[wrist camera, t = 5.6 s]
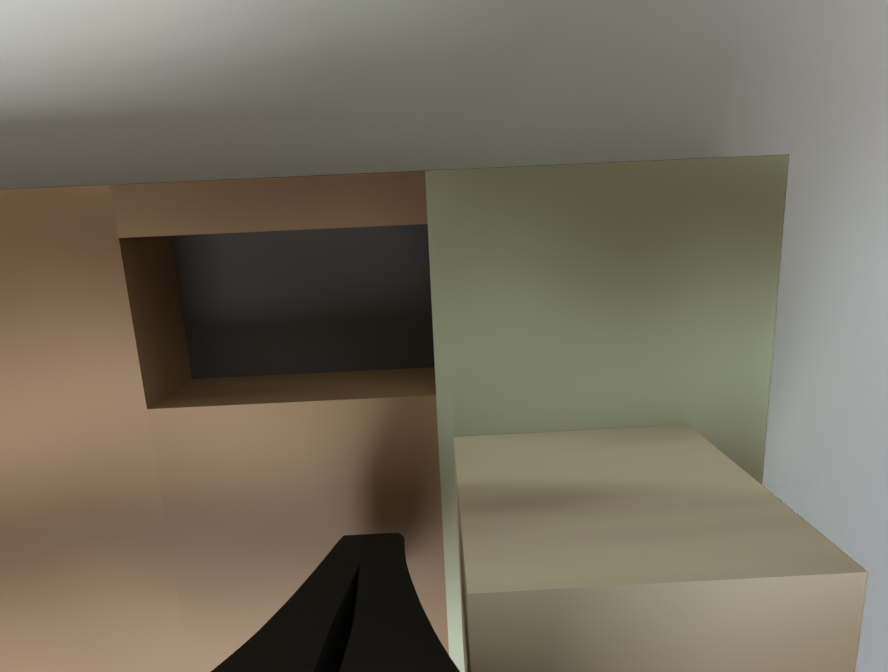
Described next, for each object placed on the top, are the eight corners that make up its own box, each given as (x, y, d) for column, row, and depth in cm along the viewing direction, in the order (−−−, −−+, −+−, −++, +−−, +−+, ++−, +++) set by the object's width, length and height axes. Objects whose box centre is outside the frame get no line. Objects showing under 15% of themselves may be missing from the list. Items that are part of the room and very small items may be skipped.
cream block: (678, 628, 13) (828, 880, 8) (462, 640, 13) (481, 900, 8) (688, 424, 12) (867, 571, 7) (453, 437, 12) (467, 593, 7)
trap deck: (690, 727, 17) (734, 816, 14) (11, 763, 16) (-63, 859, 14) (722, 166, 13) (789, 154, 11) (-131, 204, 13) (-261, 201, 11)
